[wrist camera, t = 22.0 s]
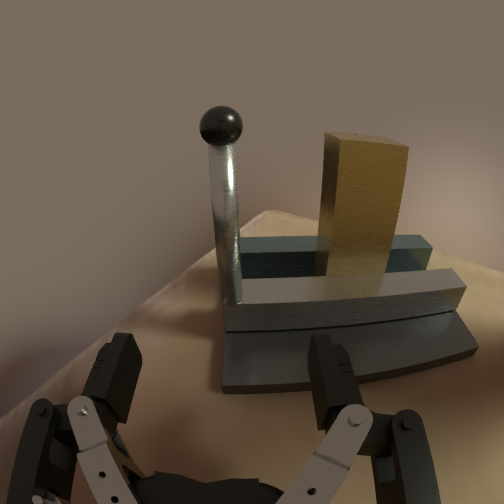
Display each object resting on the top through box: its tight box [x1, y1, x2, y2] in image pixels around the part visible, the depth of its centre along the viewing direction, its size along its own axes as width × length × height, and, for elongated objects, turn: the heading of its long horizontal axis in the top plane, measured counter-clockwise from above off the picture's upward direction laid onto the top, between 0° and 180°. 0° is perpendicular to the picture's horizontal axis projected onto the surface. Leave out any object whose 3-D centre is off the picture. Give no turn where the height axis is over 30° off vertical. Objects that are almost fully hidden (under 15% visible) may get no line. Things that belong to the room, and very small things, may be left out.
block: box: [313, 132, 409, 277], centre depth 22 cm, size 4×6×14 cm
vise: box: [222, 235, 479, 394], centre depth 24 cm, size 16×22×4 cm
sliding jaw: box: [199, 106, 467, 331], centre depth 19 cm, size 4×22×16 cm, turn 91°
